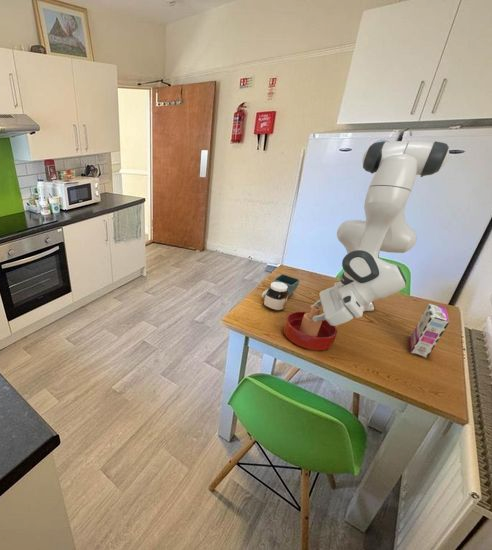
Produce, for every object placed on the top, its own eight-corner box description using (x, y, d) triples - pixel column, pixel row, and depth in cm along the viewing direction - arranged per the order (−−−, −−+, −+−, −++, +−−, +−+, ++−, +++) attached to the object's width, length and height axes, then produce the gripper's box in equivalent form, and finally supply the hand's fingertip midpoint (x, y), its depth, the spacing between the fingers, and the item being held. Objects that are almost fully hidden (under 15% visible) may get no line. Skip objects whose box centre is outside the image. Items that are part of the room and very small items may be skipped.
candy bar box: (428, 359, 106) (450, 322, 98) (410, 353, 109) (430, 316, 101) (426, 342, 113) (447, 307, 106) (409, 337, 116) (428, 302, 109)
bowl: (289, 319, 129) (292, 306, 126) (335, 334, 119) (340, 321, 116) (277, 339, 117) (281, 326, 114) (328, 358, 108) (333, 344, 105)
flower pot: (278, 289, 152) (281, 273, 148) (296, 295, 146) (300, 279, 142) (270, 295, 147) (273, 279, 143) (288, 302, 141) (292, 285, 137)
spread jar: (276, 314, 132) (281, 292, 127) (253, 303, 140) (257, 282, 135) (289, 305, 138) (295, 283, 133) (267, 295, 147) (272, 274, 141)
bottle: (300, 328, 122) (308, 301, 116) (317, 334, 118) (327, 306, 112) (296, 336, 118) (305, 308, 111) (314, 342, 114) (324, 314, 108)
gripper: (340, 277, 113) (304, 294, 122) (351, 305, 97) (309, 322, 105) (350, 289, 114) (314, 306, 122) (363, 319, 97) (320, 335, 106)
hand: (312, 314), depth 113 cm, fingers open, 6 cm apart
